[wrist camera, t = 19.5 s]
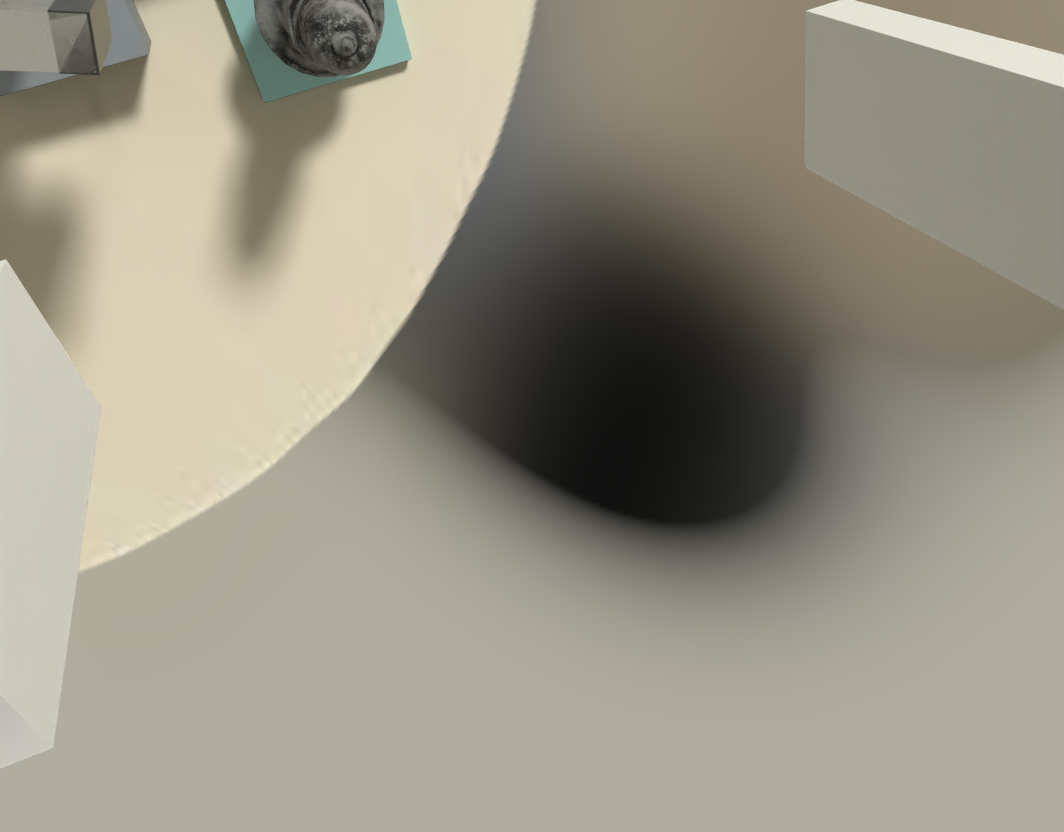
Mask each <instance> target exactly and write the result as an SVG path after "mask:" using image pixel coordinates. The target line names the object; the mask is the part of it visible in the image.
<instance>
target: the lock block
mask: <svg viewBox="0 0 1064 832" xmlns="http://www.w3.org/2000/svg"><path fill="white" fill-rule="evenodd" d="M106 4H107V11H108V17H109V23H110V30H111V36H112V41H111V44H110V47H109V50H108V53H107V56H106V59H105V62H104V65H103V67H106V66H109V65H113V64H116V63H120V62H123V61H127V60H130V59H134V58H138V57H141V56H145V55H148V54H149V51H150V45H151V40H150V38H149V36H148V33H147V31H146V29H145V27H144V24H143V22H142V20H141V18H140V15H139V13H138V11H137V9H136V7H135V4H134V2H133V0H106ZM74 75H77V74H59V72H36V71H3V70H0V96H3V95H7V94H10V93H14V92H17V91H21V90H24V89H28V88H31V87H35V86H38V85H42V84H46V83H49V82H53V81H56V80H60V79H63V78H67V77H70V76H74Z"/></svg>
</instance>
